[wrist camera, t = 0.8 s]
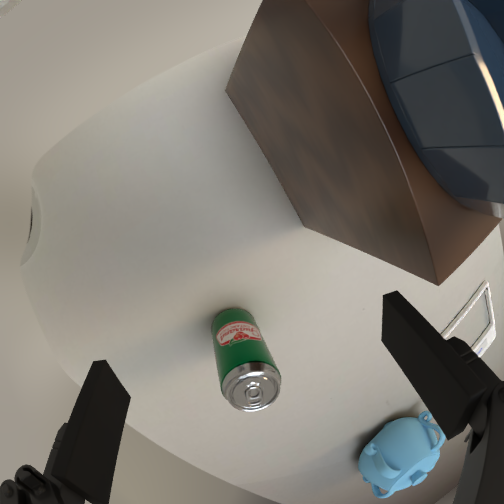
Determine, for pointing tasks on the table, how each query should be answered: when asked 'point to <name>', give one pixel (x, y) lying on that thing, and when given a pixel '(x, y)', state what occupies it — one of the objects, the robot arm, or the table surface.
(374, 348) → the table surface
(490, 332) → the photo frame
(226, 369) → the soda can
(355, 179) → the stand
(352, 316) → the table surface
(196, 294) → the table surface
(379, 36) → the bowl
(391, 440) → the decorative pot
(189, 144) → the table surface
